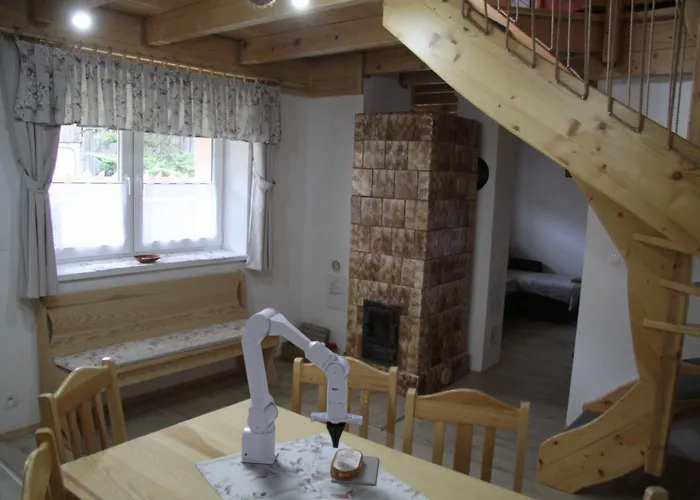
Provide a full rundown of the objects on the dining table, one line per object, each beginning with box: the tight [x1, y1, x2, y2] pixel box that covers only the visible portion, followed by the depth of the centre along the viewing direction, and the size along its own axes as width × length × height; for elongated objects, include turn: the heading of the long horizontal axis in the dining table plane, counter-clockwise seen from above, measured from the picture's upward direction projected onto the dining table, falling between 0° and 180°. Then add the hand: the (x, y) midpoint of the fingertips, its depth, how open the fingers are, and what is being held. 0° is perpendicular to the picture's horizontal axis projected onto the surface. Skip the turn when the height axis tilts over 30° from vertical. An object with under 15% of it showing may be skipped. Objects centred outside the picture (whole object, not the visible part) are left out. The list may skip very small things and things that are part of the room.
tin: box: [329, 448, 364, 480], centre depth 170 cm, size 15×3×8 cm
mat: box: [330, 455, 380, 486], centre depth 171 cm, size 12×16×1 cm
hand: (335, 446), depth 170 cm, fingers closed
